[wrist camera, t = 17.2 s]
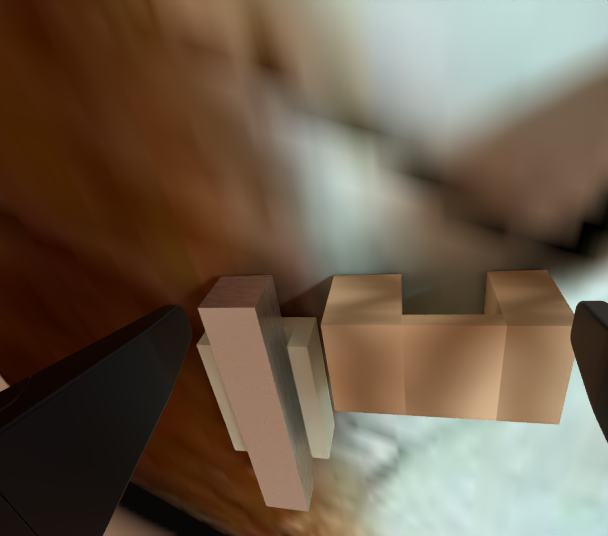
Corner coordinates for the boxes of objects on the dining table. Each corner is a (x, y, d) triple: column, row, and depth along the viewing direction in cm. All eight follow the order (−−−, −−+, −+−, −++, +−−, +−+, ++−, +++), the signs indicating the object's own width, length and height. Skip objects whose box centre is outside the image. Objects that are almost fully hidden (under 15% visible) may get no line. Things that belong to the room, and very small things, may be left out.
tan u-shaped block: (546, 269, 20) (581, 325, 16) (532, 358, 23) (559, 424, 19) (334, 275, 23) (320, 324, 19) (344, 354, 26) (334, 410, 22)
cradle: (316, 317, 25) (307, 347, 22) (334, 424, 30) (328, 458, 27) (214, 317, 27) (196, 344, 24) (247, 418, 31) (235, 450, 29)
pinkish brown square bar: (220, 276, 23) (197, 308, 21) (272, 274, 23) (254, 307, 20) (277, 466, 32) (266, 506, 29) (316, 470, 31) (308, 511, 28)
